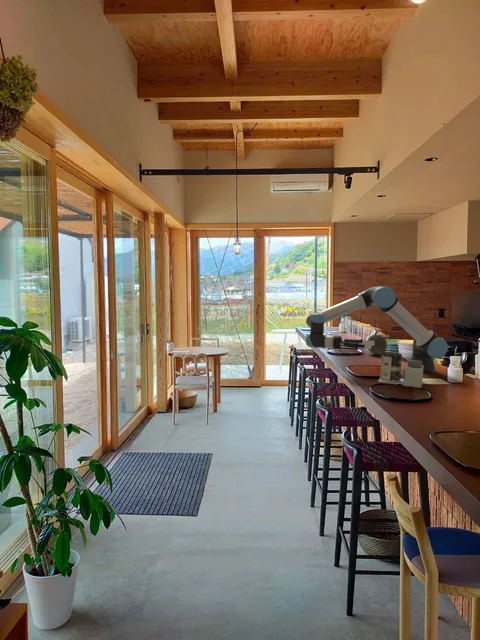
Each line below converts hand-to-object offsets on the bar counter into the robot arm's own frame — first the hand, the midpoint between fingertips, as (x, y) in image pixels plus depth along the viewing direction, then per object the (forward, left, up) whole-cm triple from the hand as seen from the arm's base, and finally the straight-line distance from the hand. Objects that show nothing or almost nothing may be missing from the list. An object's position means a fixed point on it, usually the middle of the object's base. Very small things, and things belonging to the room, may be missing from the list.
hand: (372, 344), depth 243 cm
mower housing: (-10, +12, -18) cm, 24 cm away
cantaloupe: (-49, -71, -18) cm, 88 cm away
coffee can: (-6, +9, -18) cm, 21 cm away
